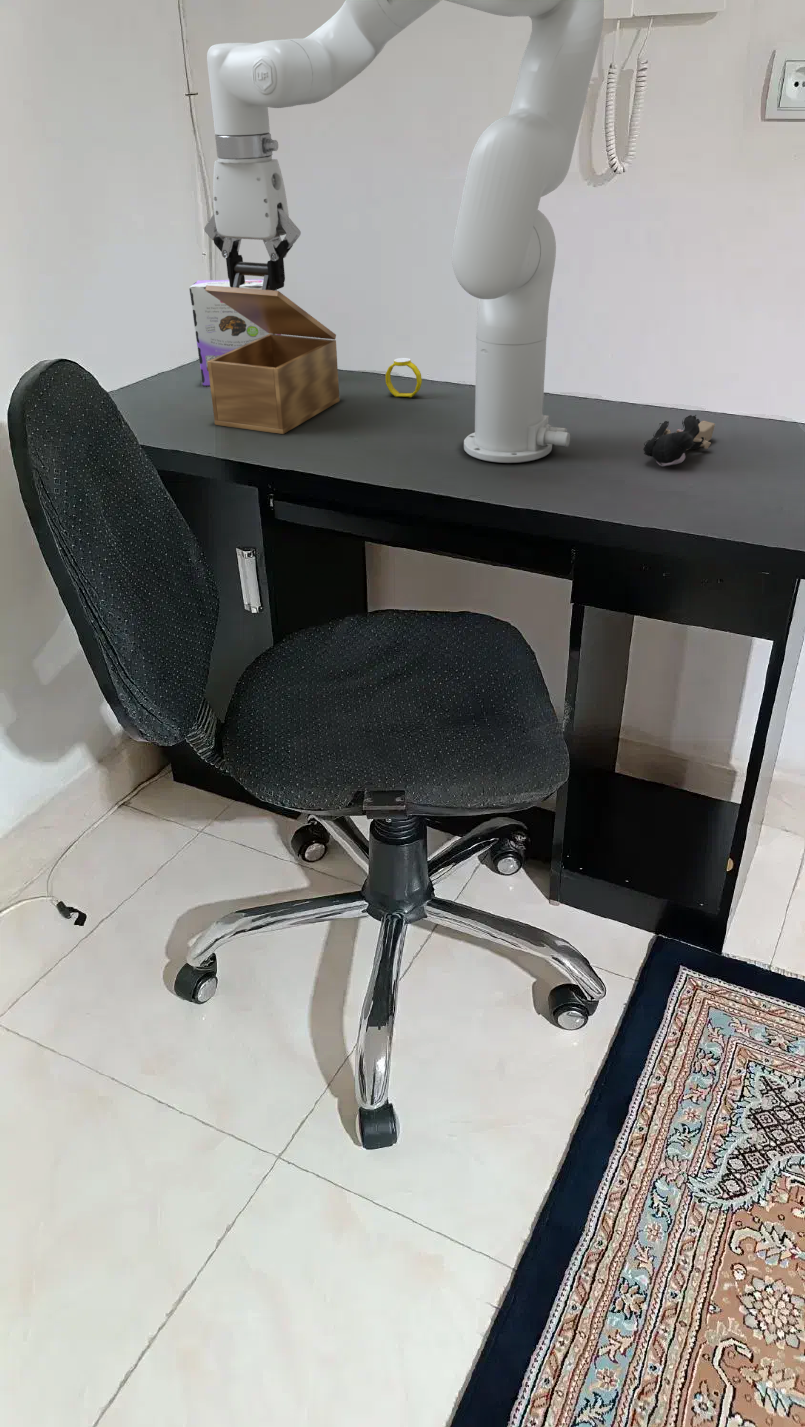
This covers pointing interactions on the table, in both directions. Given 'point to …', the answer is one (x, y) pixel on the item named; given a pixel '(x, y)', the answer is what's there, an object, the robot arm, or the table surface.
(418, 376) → the watch
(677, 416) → the table surface
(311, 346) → the chest
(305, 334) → the chest lid
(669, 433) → the toy figure
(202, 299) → the candy box
